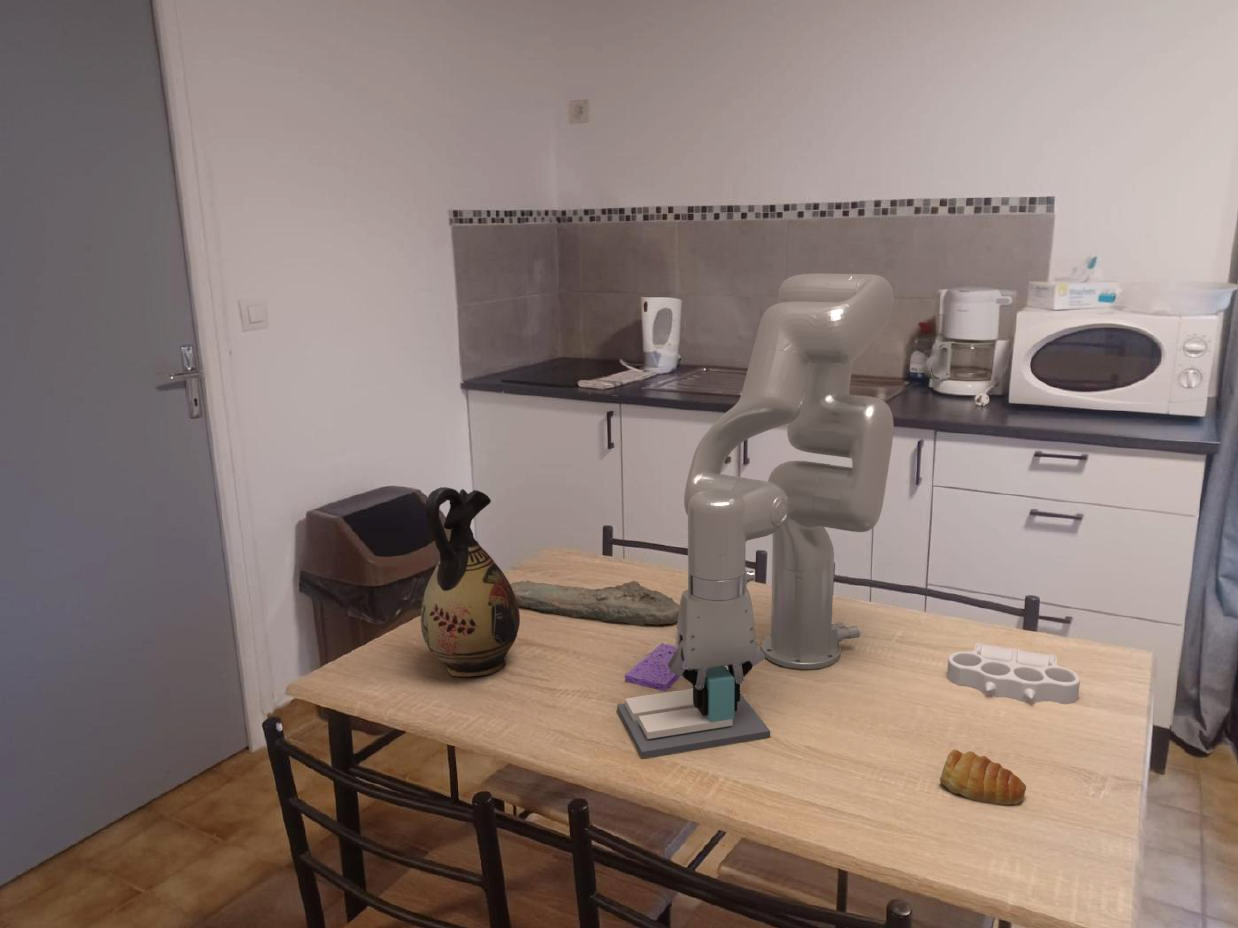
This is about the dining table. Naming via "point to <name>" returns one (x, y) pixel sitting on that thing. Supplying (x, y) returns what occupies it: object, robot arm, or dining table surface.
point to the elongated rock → (599, 602)
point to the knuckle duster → (1014, 674)
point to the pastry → (981, 779)
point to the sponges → (654, 669)
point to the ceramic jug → (466, 592)
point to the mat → (698, 733)
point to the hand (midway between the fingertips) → (716, 707)
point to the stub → (691, 719)
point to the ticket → (659, 703)
